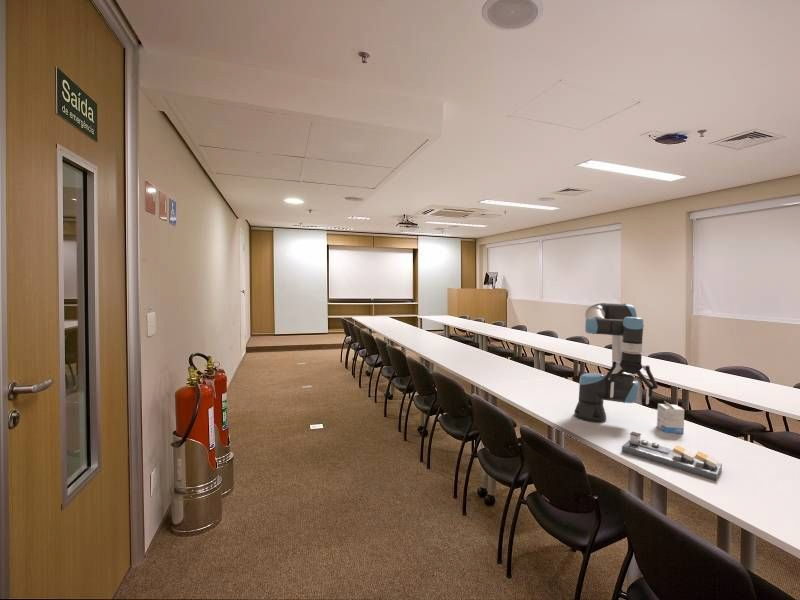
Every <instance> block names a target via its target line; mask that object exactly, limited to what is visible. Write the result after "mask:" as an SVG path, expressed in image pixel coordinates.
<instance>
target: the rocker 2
mask: <svg viewBox="0 0 800 600" xmlns="http://www.w3.org/2000/svg"><path fill="white" fill-rule="evenodd" d="M695 458H696V459H698V460H700V461H702V462H704V463H706V464H708V465H710V466H712V467H714V468H715V467H716V465H717V463H718V462H719V460H718V459H716V458H714V457H712V456H710V455H708V454H706V453H704V452H702V451H699V450H698V451H697V452H696V453H695Z"/></svg>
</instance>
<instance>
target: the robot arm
mask: <svg viewBox="0 0 800 600" xmlns="http://www.w3.org/2000/svg"><path fill="white" fill-rule="evenodd" d="M584 328H585V333H586V334H591V335H604V336H605V335H606V336H607V335H609V336H611V367H610V369H609V370H608V371H607V373H606V374H604V373H599V372H588V373H587V372H586V373H583V374H581V375H580V376H579V383H578V386H579V388H578V401H577V404H576V406H575V409H574V415H573V416H574V417H575V418H576V419H579V420H581V421H584V422H589V423H596V424H597V423H605V422H606V421H607V414H606V410H605V407H604V401H607V402H608V401H609V402H610V401H611V402H616V403H623V404H633V403H636V400H637V397H638V392H639V381H638V380H635V375H637V376H638V378H639V379H640V380H641V382H643V383H644V384H645V386H646V387H647V388H646V395H645V404H646V405H649V403H650V398H651V397H652V396H653V390H656V389H658V387H659V386H658V384H657V382H656V379H655V377H654V376H653V373H652V371H651V367H650V365H649V364H647V365H642V352H643V335H644V319H643V318H642V317H638V316H637V311H636V307H635V306H634V305H633V304H629V303H612V302H611V303H608V302H607V303H605V302H602V303H596V304H593V305H591V306H589V307H587V309H586V310H585V326H584ZM642 369H643V370H644V371H645V372H646V374H647V376H648V378H649V380H650V382H649V380H648V379H647V378H646V376H645V375H644V374H643V372H641V370H642Z"/></svg>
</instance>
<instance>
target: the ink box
mask: <svg viewBox="0 0 800 600" xmlns="http://www.w3.org/2000/svg"><path fill="white" fill-rule="evenodd" d="M656 417H657V418H656V427H657V428H659V429H660V430H661V431H663V432H664V433H669V434H684V432H685V431H684V427H685V409H684V408H682V407H680V406H679V405H677V404H672V403H671V404H670V403H669V402H666V401H665V400H664V403H657V416H656Z"/></svg>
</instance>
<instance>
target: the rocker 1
mask: <svg viewBox="0 0 800 600" xmlns="http://www.w3.org/2000/svg"><path fill="white" fill-rule="evenodd" d="M672 449H673V452H675V453H676V454H678V455H680V456H682V457H684V458H686V459H688V460H690V461H692V460H693V458H694V456H695V455H696V453H694V452H692V451H690V450H688V449H685V448H684V447H682V446H681V445H678V444H676V445H675V446H674V448H672Z"/></svg>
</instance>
